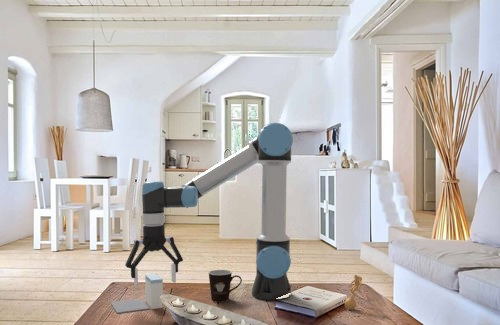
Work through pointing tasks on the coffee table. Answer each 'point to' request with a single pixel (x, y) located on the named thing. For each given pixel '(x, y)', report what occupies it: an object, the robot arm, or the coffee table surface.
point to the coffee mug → (221, 284)
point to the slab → (153, 291)
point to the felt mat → (129, 305)
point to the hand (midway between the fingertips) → (155, 284)
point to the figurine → (350, 302)
